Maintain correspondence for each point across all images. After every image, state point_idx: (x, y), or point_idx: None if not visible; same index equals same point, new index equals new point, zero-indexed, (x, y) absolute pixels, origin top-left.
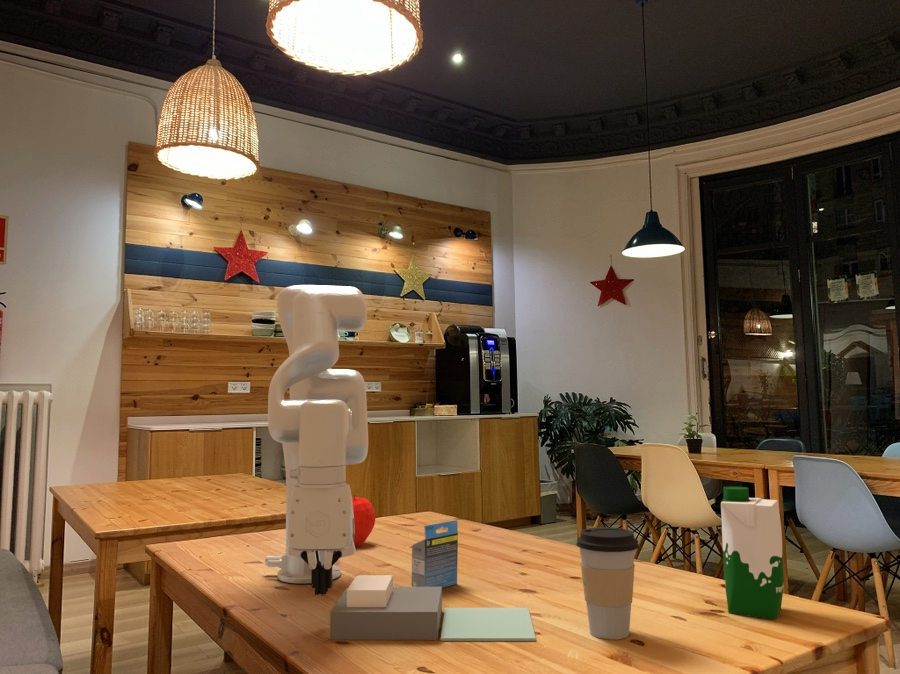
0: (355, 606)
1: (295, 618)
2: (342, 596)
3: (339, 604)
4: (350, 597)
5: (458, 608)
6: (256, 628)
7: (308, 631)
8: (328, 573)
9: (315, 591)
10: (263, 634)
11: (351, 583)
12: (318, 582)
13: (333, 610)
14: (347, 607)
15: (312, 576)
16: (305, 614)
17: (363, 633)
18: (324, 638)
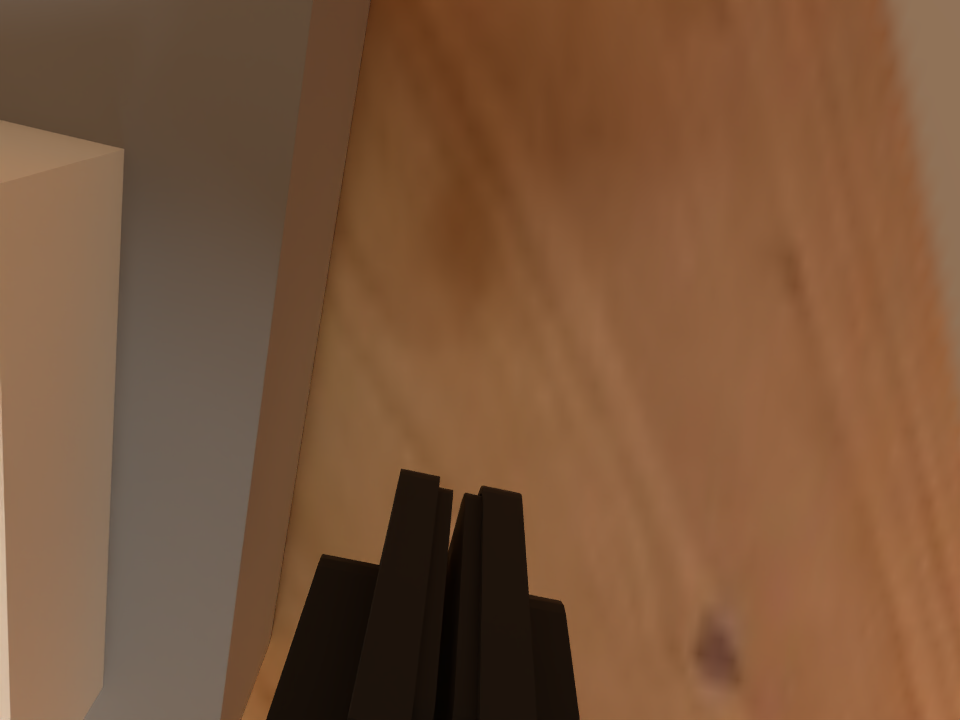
0: (6, 123)
1: (643, 577)
2: (226, 552)
3: (228, 276)
4: (2, 148)
5: None
6: (953, 431)
7: (561, 271)
8: (299, 700)
9: (511, 506)
10: (926, 280)
11: (1, 531)
12: (471, 586)
13: (282, 33)
14: (112, 126)
15: (562, 711)
16: None
17: None
18: (426, 49)
